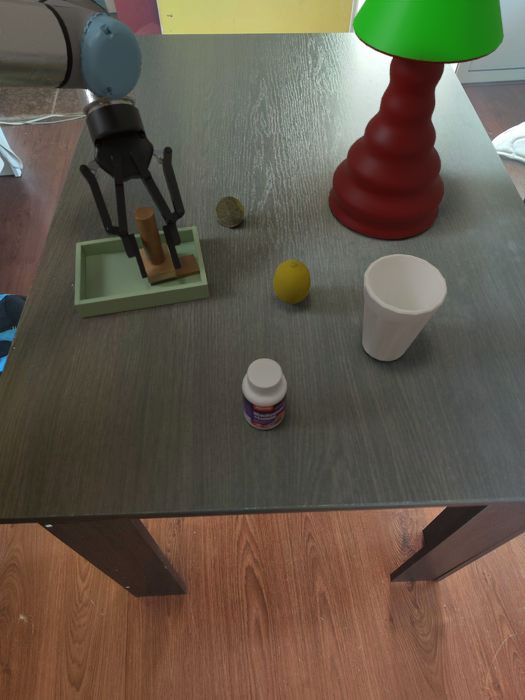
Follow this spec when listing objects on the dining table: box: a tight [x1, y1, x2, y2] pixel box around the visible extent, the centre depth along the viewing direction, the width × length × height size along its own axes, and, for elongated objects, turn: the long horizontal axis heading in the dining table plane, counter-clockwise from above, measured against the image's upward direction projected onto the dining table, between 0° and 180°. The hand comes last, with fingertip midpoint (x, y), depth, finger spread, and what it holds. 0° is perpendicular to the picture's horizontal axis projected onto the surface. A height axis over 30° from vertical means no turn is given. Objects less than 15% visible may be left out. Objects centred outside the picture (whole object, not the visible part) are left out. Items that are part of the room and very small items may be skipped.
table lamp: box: [328, 0, 505, 240], centre depth 67 cm, size 20×20×45 cm
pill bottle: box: [241, 357, 288, 430], centre depth 57 cm, size 5×5×10 cm
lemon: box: [272, 259, 312, 305], centre depth 69 cm, size 6×6×8 cm
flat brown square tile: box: [171, 254, 200, 279], centre depth 75 cm, size 4×4×1 cm
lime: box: [215, 196, 245, 228], centre depth 80 cm, size 4×5×5 cm
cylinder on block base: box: [133, 206, 176, 286], centre depth 70 cm, size 4×6×11 cm
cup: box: [361, 253, 448, 362], centre depth 62 cm, size 10×10×13 cm
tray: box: [74, 225, 210, 319], centre depth 74 cm, size 20×14×3 cm
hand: (161, 272), depth 70 cm, fingers closed on cylinder on block base, 4 cm apart
